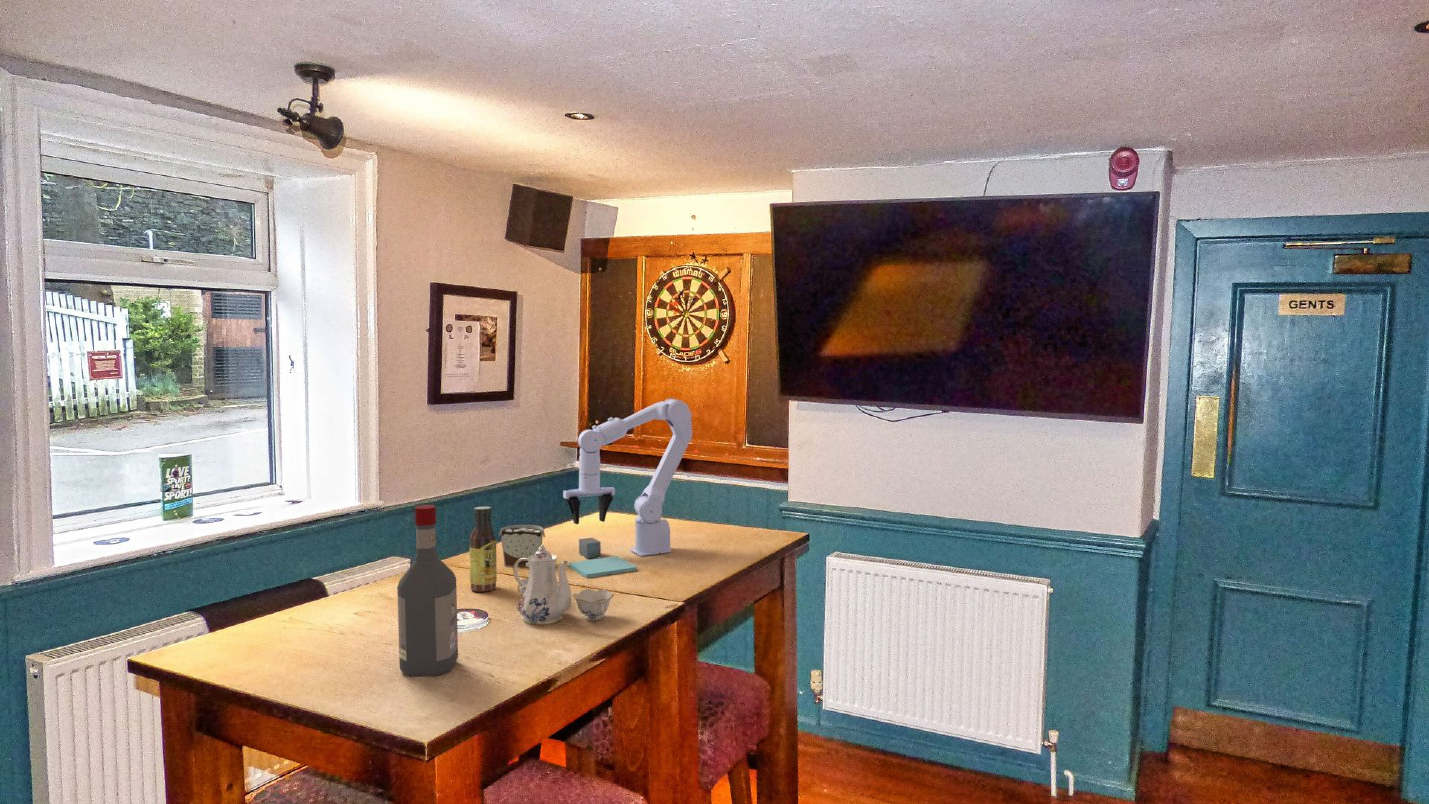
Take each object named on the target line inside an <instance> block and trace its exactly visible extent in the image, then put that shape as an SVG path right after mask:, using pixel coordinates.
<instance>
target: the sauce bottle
mask: <svg viewBox="0 0 1429 804" xmlns="http://www.w3.org/2000/svg"><path fill="white" fill-rule="evenodd" d="M473 513H474V528H473V530H472V531H471V533H470V537H469V542H470V543H469V583H470V589H471V591H473V592H477V593H478V592H479V593H483V592H491V591H493V590H495V589H496V586H497V581H498V580H497V579H498V575H497V569H498V568H497V567H498V566H497V539H496V534H495V532H494V529H493V527H492V507H491V506H477V507H474V509H473Z"/></svg>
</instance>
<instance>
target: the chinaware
mask: <svg viewBox="0 0 1429 804" xmlns="http://www.w3.org/2000/svg"><path fill="white" fill-rule="evenodd" d="M546 549H547V548H546V547H545V546H544V544H542V545H541V546H540V548H539V551H536V552H535V554H534V555H532V556H529V557H527V558H521V559H518V560H517V561H516V562H515V564H514V566H513V568H512V571H513V576H514V579H515V581H516V582H517V583H518V585H517V592H518V594H519V596H521V597H520V600H519V601H518V603H517V605H516V610H517V612H518V613H519V614H520V615H521V616H522V617H523V620H522V621H523V622H524V623H526V624H529V625H538V626H539V625H540V626H541V625H542V626H543V625H552V624H555V623H558V622H561V621H562V620H563V619H564V616H563V614H564V613H565V612H567V610H569V608H570V607H571V604H572V597H573V599H574V600H575V602H576V605H577V608H578V609H579V612H580V613H581V614H582V615H584V616H586V618H585V620H586V621H591V622H593V621H599V619H600V620H601V619H604V617H605V613H606V611H607V610H608V609H609V607H610V603H611V599H612V598H614V596H615V595H614V593H611V592H610V590H608V589H605V588H603V589H599V590H595V589H594V590H593V589H588V588H587V589H583V590H580V592H578V593H574V594H572V590H571V587H570V584H569V580H568V576H567V573H566V566H567V565H568V563H569V561H568V560H563V561H562V562H561V563H560V564H559V566H558V573H557V574H558V579H557V574H556V563H557V560H558V556H557V555H556V554H553V553H552V554H551V552H550V551H549V550H546ZM523 560H527V561H528V563H526V566H527V567H526V568H528V569H529V576H528V577H526V578H525V577H524V578H522V579H520V577H519V574H518V567H517V566H518V563H519V562H520V561H523Z"/></svg>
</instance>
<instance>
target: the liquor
mask: <svg viewBox="0 0 1429 804" xmlns="http://www.w3.org/2000/svg"><path fill="white" fill-rule="evenodd" d="M436 508H437V507H436V505H434V504H422V505H421V504H420V505H416V506H415V507H414V525H416V526H415V527H416V530H415V531H416V534H415V535H416V554H415V556H414V557H415V558H414V561H413V562H412V563H411V565H410V567H408V569H407V570H406V572H405V573H404V574H403V576H401V578H400V579H399V581H398V584H397V587H396V589H397V618H398V619H397V622H398V624H397V625H398V654H399V655H398V656H399V657H398V659H399V670H400V671H401V673H402V674H404V675H405V676H408V677H410V678H411V677H412V678H413V677H437V676H442V675H444V674H448V673H449V672H450V671H451V670H452V669H453V667H454V665H455V664H456V662H457V661H458V659H459V644H458V643H459V642H458V639H459V637H458V601H457V600H458V598H457V597H458V595H457V592H458V591H457V577H456V575H455V572H454V571H453V570H452V569H451V568H449V566H448V565H447V564H445V563H444V561H442V560H441V559H440V558H439V553H438V551H437V541H436V538H437V537H436V536H437V535H436V523H437V511H436V510H437V509H436Z"/></svg>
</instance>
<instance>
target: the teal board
mask: <svg viewBox="0 0 1429 804" xmlns="http://www.w3.org/2000/svg"><path fill="white" fill-rule="evenodd" d="M567 565H568V567H569V568H570V569H572V570H573V571H574V572H576V573H578V574H580V575H581V576H582V577H584V578H585V577H586V578H585V579H590V578H589V577H592V578H597V576H598V577H602V576H601V575H605V576H607V575H606V574H612V575H618V574H617V573H619V574H622V573H621V572H626V573H628V572H627V571H633V572H638V567H637V566H636V565H634V564H633V563H631V562H629V561H627V560H626V559H623V558H621V557H619V556H618V555H617V556H616V555H615V556H608V557H601V558H594V559H585V560H580V561H579V560H577V561H572V562H568V563H567Z"/></svg>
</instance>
